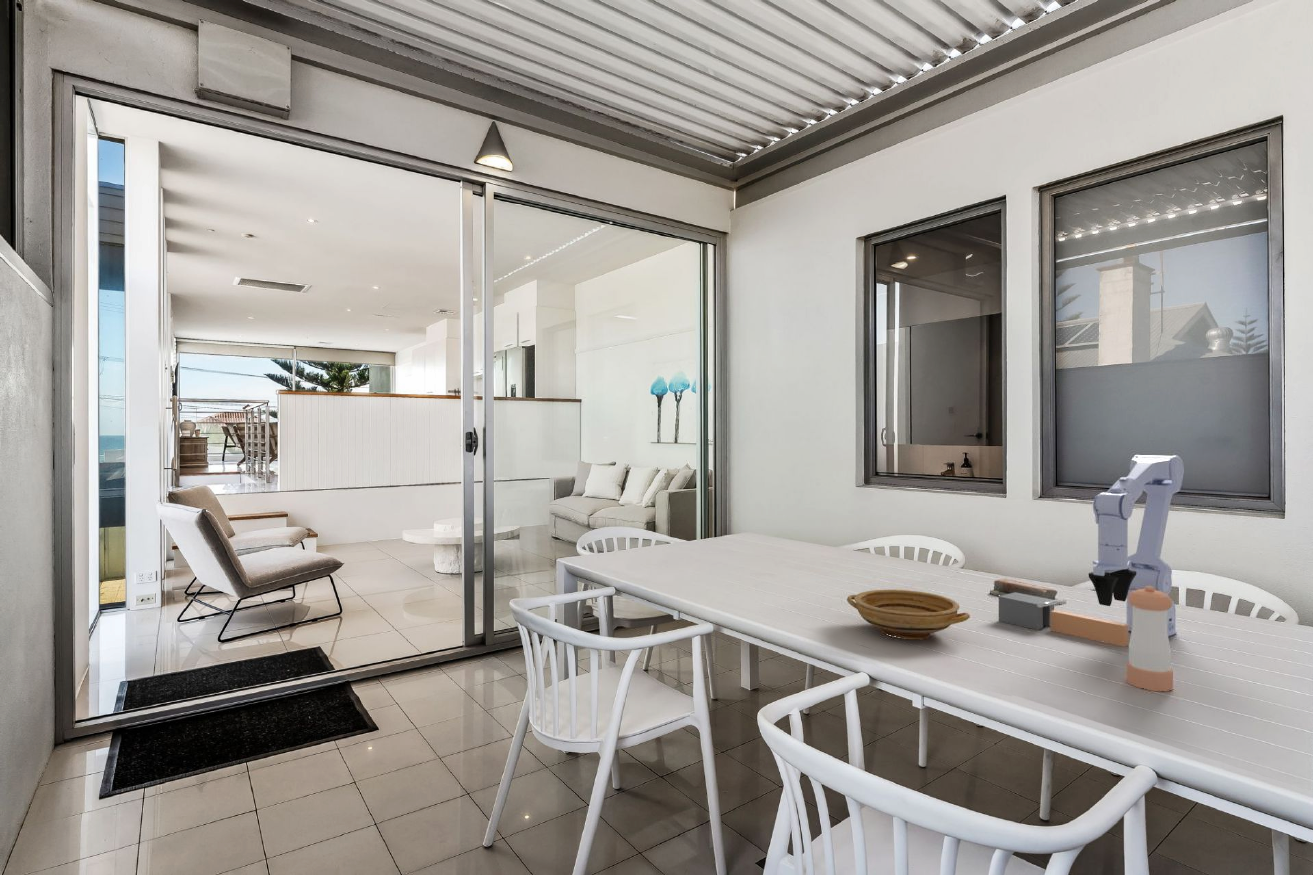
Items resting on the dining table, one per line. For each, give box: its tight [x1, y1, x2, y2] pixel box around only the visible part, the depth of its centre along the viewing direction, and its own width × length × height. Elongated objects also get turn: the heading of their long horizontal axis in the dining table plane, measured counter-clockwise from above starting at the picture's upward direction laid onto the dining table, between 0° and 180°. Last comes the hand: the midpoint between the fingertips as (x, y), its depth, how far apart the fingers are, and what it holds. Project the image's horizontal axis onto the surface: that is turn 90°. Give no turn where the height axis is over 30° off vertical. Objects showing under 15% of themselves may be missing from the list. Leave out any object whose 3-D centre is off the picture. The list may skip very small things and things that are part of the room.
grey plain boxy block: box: [998, 592, 1058, 631], centre depth 174 cm, size 11×8×6 cm
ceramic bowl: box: [846, 589, 971, 640], centre depth 167 cm, size 30×24×8 cm
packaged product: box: [989, 578, 1067, 606], centre depth 200 cm, size 18×5×10 cm
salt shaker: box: [1126, 586, 1174, 692], centre depth 132 cm, size 7×7×19 cm
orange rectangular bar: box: [1050, 609, 1129, 648], centre depth 163 cm, size 16×2×5 cm, turn 35°
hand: (1112, 602), depth 158 cm, fingers open, 7 cm apart
